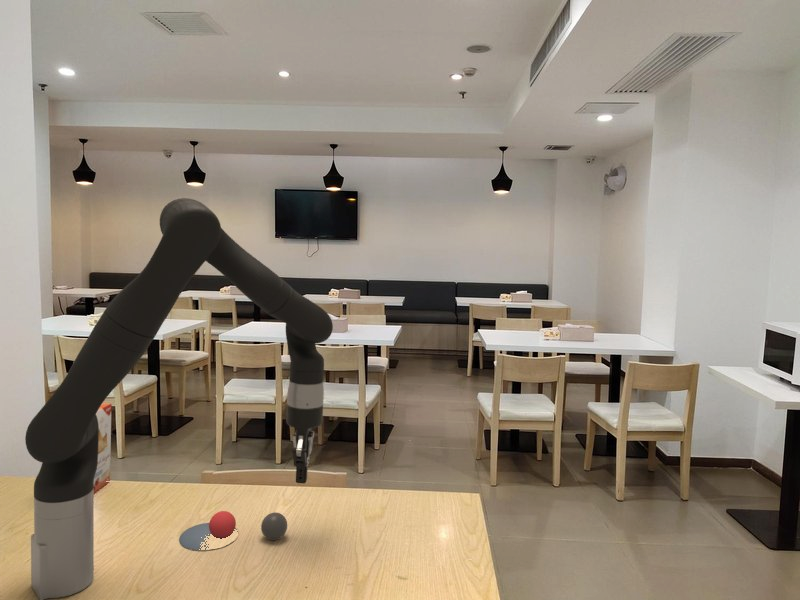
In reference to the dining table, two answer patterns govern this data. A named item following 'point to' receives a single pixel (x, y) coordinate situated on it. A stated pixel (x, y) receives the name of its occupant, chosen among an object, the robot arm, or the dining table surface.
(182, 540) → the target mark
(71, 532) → the robot arm
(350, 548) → the dining table surface
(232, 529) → the red ball
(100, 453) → the cracker box
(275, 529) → the gray ball
